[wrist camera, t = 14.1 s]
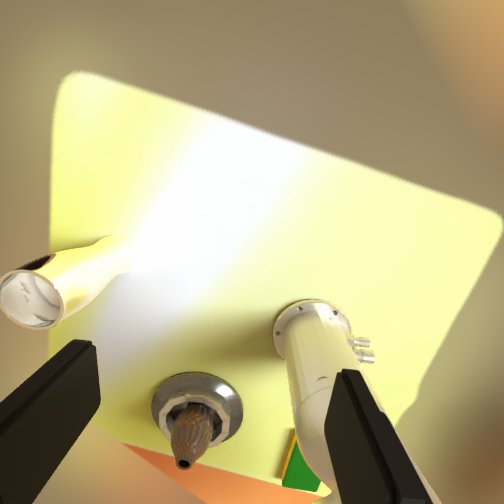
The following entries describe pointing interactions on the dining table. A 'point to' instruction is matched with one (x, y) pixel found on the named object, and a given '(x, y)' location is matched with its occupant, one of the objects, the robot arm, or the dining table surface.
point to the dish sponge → (298, 471)
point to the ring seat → (198, 392)
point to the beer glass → (62, 282)
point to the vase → (191, 435)
